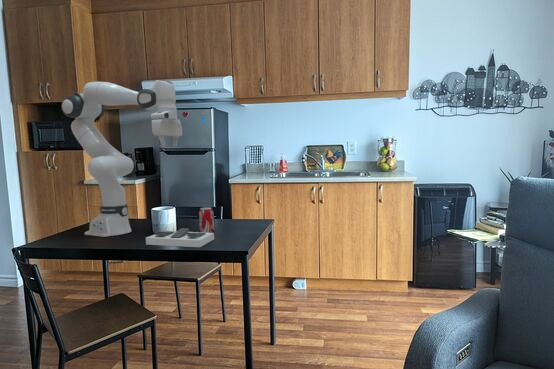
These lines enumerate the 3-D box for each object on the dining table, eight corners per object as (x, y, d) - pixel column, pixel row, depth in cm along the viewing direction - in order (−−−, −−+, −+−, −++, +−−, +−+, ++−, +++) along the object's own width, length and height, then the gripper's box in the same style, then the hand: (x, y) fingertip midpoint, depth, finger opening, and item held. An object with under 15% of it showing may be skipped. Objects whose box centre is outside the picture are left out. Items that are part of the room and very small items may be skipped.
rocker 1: (155, 235, 166) (155, 231, 166) (166, 234, 175) (166, 231, 175) (162, 235, 165) (163, 231, 165) (173, 235, 174) (174, 231, 174)
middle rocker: (171, 239, 164) (170, 236, 164) (181, 231, 173) (180, 228, 172) (179, 240, 163) (178, 237, 163) (189, 231, 172) (188, 228, 171)
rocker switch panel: (146, 244, 165) (145, 237, 165) (164, 237, 178) (163, 230, 178) (199, 247, 158) (199, 240, 158) (214, 239, 171) (213, 232, 171)
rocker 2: (187, 236, 162) (187, 232, 162) (197, 236, 170) (197, 232, 171) (195, 236, 161) (195, 233, 161) (205, 236, 169) (205, 232, 170)
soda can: (211, 233, 182) (210, 209, 181) (197, 233, 184) (196, 209, 183) (216, 230, 189) (215, 207, 188) (203, 230, 191) (202, 207, 189)
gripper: (173, 117, 184) (175, 146, 185) (148, 114, 164) (150, 146, 165) (184, 117, 182) (186, 145, 183) (160, 113, 162) (163, 145, 164)
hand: (169, 146), depth 174 cm, fingers open, 8 cm apart
